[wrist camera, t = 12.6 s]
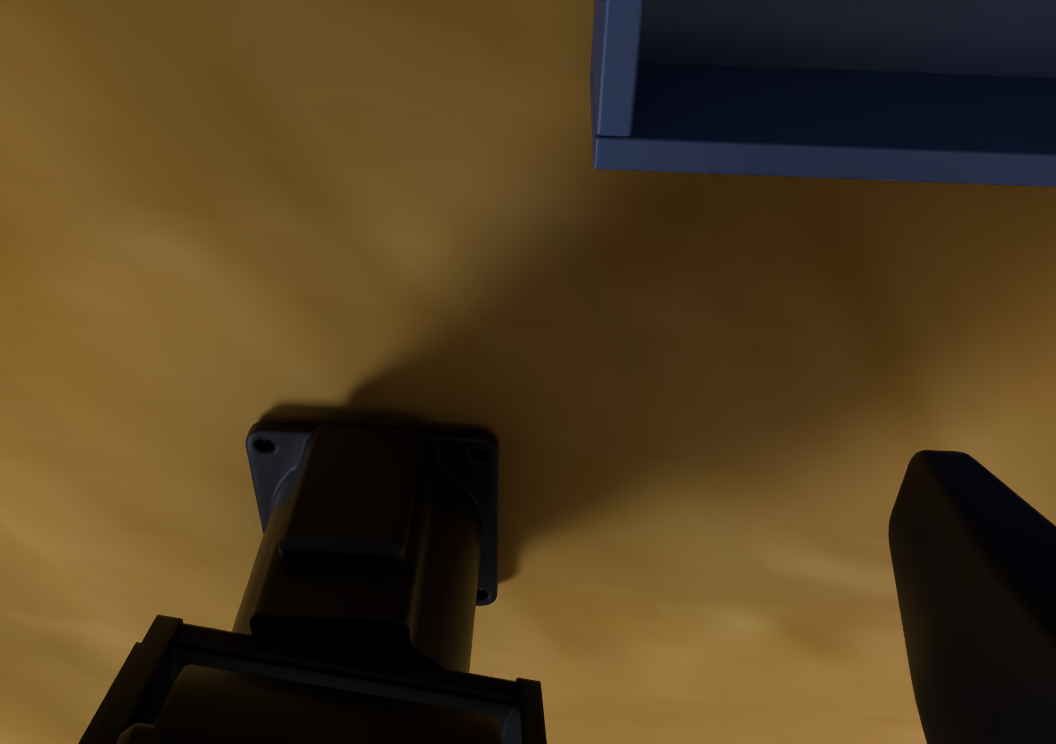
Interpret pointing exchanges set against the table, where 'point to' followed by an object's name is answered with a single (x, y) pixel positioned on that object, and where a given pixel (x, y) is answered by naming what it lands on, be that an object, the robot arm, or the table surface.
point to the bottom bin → (828, 89)
